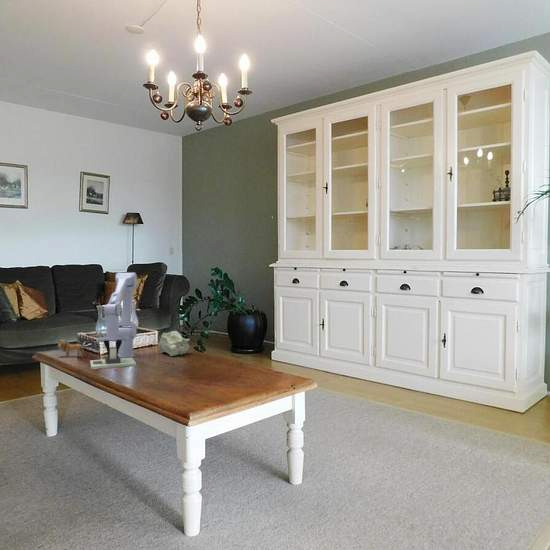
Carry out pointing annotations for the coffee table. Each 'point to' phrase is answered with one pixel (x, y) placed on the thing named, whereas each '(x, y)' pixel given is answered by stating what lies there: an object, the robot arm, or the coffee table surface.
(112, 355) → the plug
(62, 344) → the lion figurine
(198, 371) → the coffee table surface
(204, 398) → the coffee table surface
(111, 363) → the board
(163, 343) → the folded clay sculpture
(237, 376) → the coffee table surface
